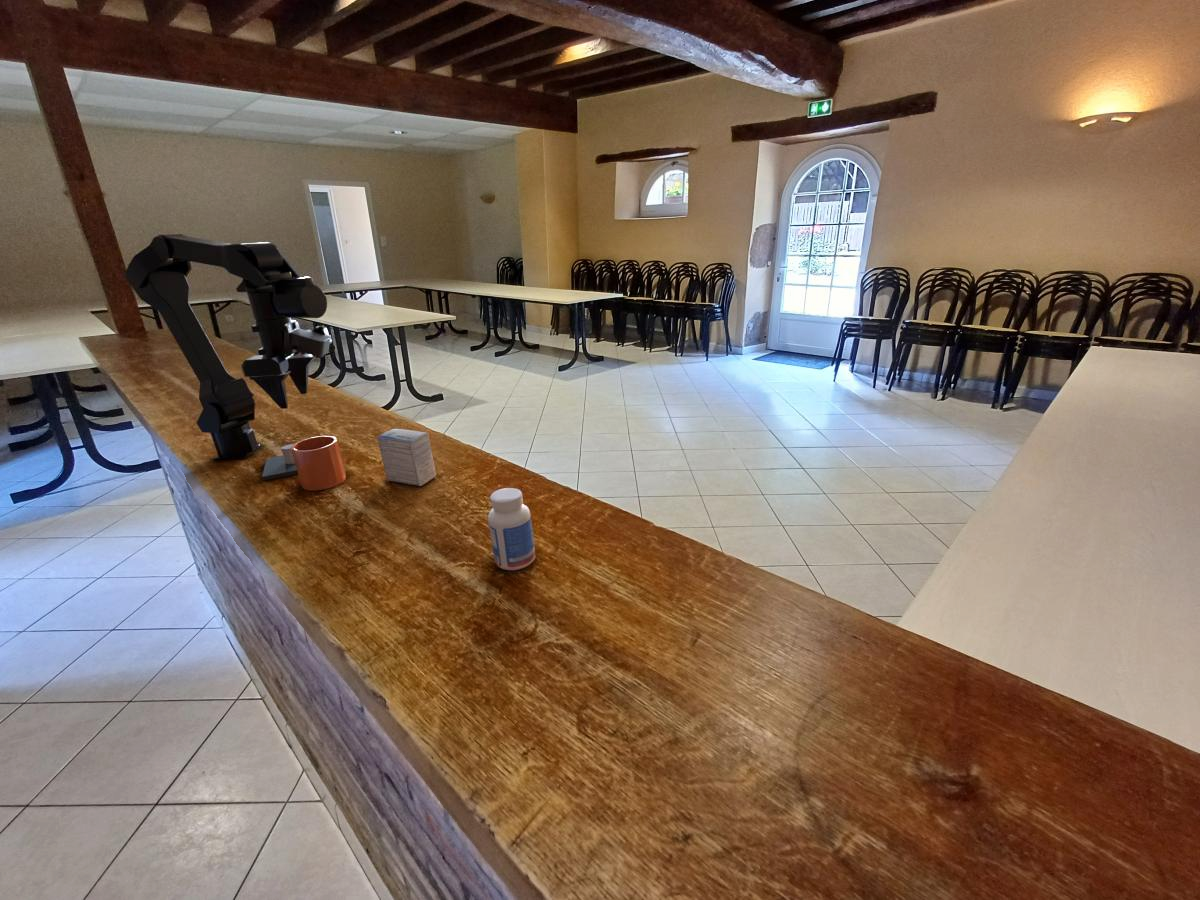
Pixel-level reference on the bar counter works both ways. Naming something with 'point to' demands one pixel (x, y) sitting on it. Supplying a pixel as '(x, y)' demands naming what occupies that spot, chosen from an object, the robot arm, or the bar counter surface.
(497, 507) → the pill bottle
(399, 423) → the bar counter surface
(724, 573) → the bar counter surface
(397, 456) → the stack of paper cards
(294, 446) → the cup
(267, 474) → the grey lid with knob
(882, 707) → the bar counter surface
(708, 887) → the bar counter surface
